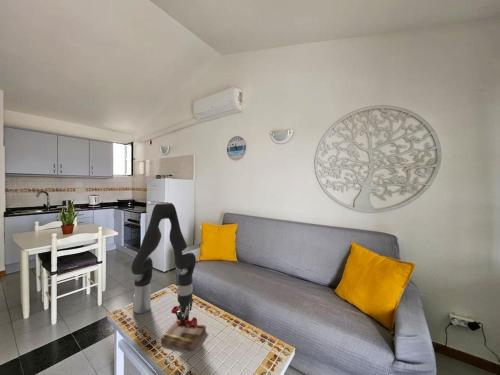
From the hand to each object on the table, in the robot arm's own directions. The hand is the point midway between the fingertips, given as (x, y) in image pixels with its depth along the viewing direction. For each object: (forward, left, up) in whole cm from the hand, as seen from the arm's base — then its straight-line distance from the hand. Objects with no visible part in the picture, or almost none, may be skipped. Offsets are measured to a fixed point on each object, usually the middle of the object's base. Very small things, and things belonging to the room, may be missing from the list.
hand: (184, 322), depth 110 cm
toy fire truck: (0, 0, -2) cm, 2 cm away
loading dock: (0, 0, -8) cm, 8 cm away
